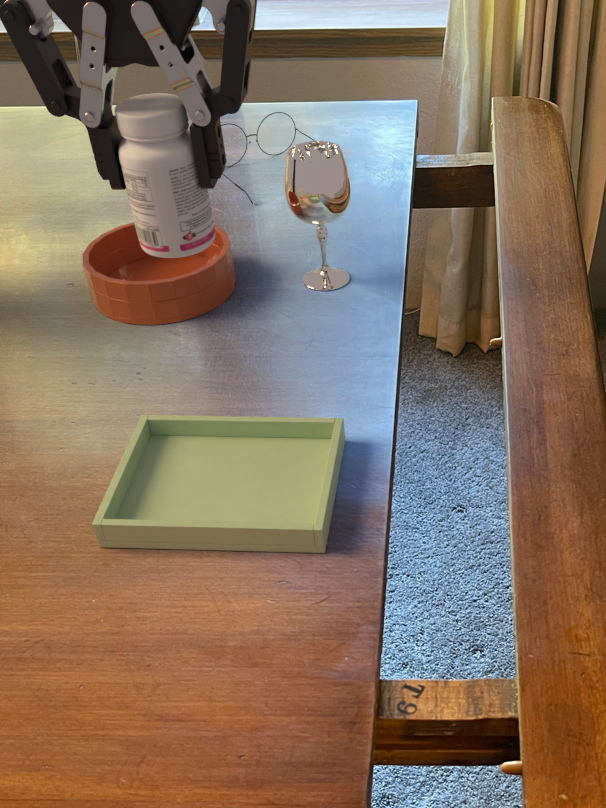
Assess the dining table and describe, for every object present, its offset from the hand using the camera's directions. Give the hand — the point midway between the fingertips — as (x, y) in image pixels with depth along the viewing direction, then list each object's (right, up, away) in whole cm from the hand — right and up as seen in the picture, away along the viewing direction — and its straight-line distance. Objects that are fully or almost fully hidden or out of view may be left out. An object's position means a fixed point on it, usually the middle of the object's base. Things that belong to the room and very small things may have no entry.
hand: (165, 183), depth 57 cm
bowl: (-8, +2, +32) cm, 33 cm away
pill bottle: (0, -3, +3) cm, 4 cm away
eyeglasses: (0, +20, +50) cm, 54 cm away
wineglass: (+7, +3, +32) cm, 33 cm away
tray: (+2, -18, +10) cm, 21 cm away
